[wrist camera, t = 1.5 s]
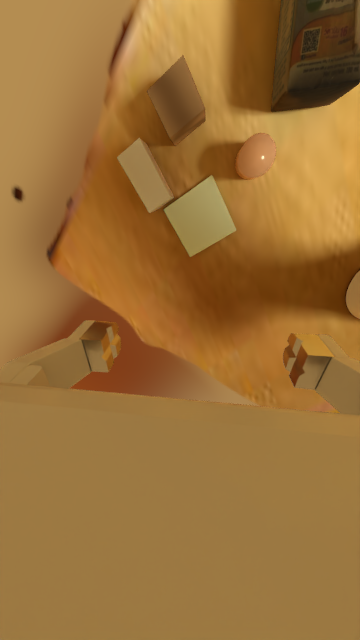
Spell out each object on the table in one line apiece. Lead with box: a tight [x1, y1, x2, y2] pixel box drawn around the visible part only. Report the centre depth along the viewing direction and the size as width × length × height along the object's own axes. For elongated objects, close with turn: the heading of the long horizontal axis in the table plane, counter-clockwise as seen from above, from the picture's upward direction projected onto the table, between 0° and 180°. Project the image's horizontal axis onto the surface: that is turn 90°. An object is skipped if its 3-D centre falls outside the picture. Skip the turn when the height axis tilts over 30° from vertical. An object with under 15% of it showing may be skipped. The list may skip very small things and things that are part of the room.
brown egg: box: [235, 133, 276, 180], centre depth 28 cm, size 4×4×5 cm
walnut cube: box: [147, 56, 205, 146], centre depth 26 cm, size 5×5×5 cm
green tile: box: [163, 175, 236, 257], centre depth 35 cm, size 9×9×1 cm
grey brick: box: [117, 138, 174, 213], centre depth 31 cm, size 8×4×4 cm, turn 31°
